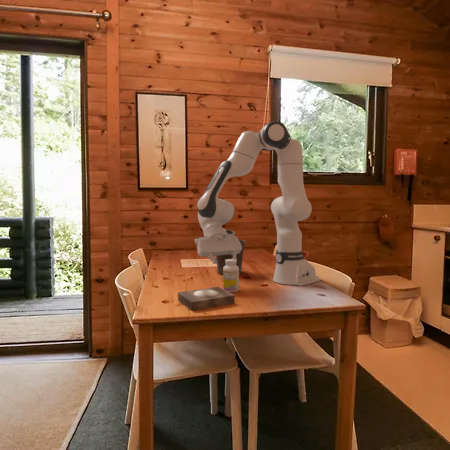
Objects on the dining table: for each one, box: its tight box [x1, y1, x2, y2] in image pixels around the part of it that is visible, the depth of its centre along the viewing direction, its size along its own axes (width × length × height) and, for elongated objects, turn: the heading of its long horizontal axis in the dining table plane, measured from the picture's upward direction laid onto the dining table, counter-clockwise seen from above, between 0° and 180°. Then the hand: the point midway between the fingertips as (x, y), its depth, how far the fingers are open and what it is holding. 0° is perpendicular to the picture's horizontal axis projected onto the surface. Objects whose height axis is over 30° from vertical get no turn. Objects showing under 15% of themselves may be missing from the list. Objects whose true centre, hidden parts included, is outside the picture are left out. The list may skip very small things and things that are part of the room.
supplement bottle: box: [222, 259, 240, 293], centre depth 142 cm, size 7×7×13 cm
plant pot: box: [215, 239, 246, 276], centre depth 174 cm, size 16×16×16 cm
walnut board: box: [177, 286, 236, 311], centre depth 128 cm, size 17×13×3 cm
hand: (225, 262), depth 146 cm, fingers open, 8 cm apart
